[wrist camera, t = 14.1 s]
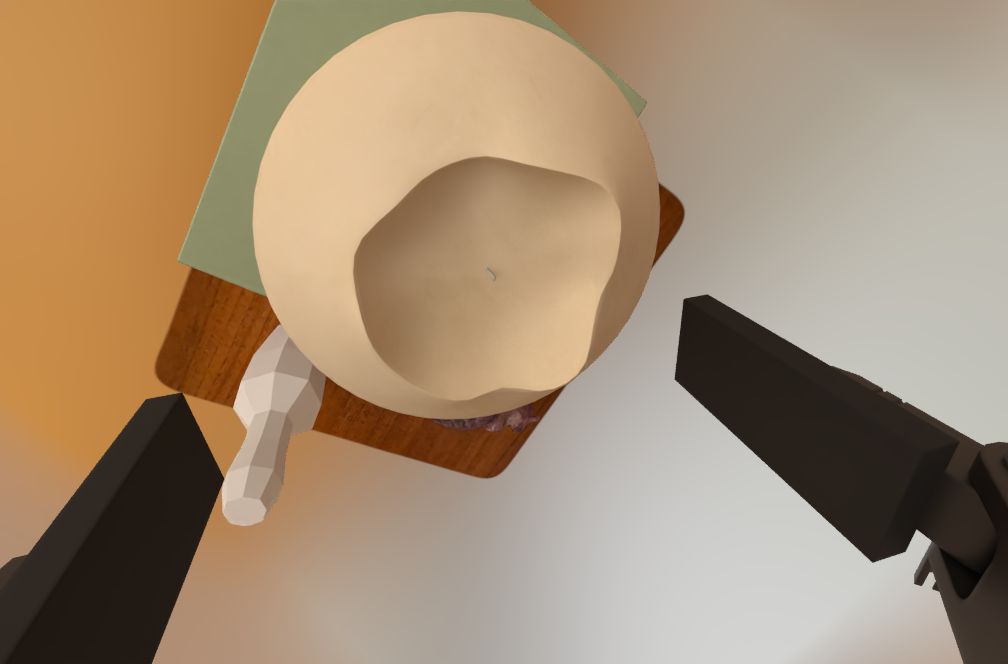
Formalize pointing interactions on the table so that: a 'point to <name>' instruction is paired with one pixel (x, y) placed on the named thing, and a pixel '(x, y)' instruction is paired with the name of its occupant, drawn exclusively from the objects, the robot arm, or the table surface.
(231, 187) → the shelf
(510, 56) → the candle
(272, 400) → the bowling pin
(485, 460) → the table surface
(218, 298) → the table surface
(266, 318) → the table surface
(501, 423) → the pine cone
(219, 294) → the table surface
